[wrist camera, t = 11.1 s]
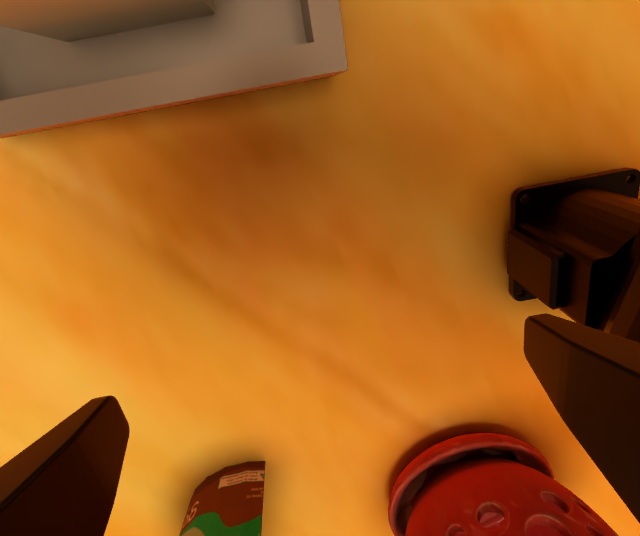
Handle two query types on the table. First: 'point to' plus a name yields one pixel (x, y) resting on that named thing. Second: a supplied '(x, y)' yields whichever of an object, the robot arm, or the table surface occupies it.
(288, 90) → the table surface
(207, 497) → the food container
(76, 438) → the robot arm
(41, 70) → the big crate
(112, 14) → the small crate
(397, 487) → the plant pot
